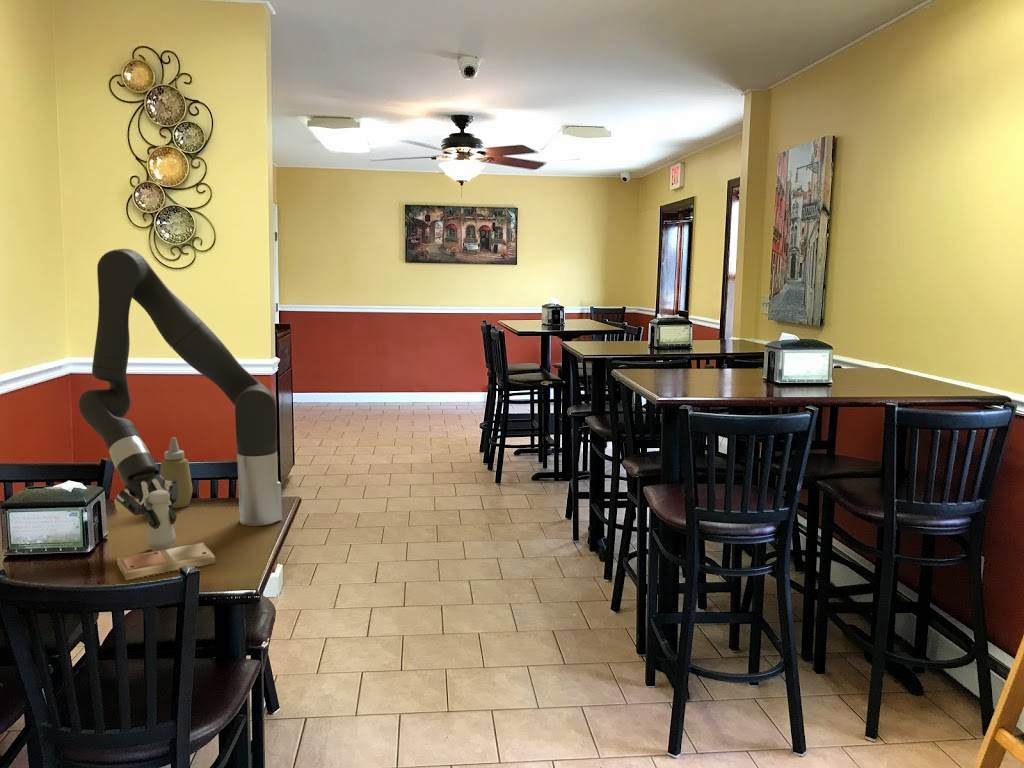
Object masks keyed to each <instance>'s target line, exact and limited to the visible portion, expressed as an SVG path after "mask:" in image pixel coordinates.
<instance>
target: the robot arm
mask: <svg viewBox="0 0 1024 768" xmlns="http://www.w3.org/2000/svg"><path fill="white" fill-rule="evenodd" d="M96 267H97V268H96V270H97V271H96V272H97V273H96V275H97V289H98V290H97V291H98V319H97V329H96V337H95V343H94V344H95V345H94V349H93V350H94V352H93V359H92V366H91V367H92V369H91V374H92V376H93V377H94V378H95V379H96V380H100V381H103V382H108V384H109V387H108V388H102V389H101V388H100V389H89V390H86V391H84V392H83V393H81V395H80V396H79V398H78V410H79V412H80V415H81V416H82V418H83V419H84V421H85V422H86V423H87V424H88V425H89V426H90V427H91V428H92V429H93V430H94V431H95V433H97V434H98V435H99V436H100V437H101V438H102V439H103V442H104V444H105V446H106V448H107V450H108V453H109V455H110V457H111V461H112V463H113V466H114V468H115V470H116V471H117V473H118V475H119V477H120V480H121V482H122V483H123V486H125V488H124V490H123V489H121V490H119V492H118V493H117V496H116V498H115V500H116V501H117V502H118V503H119V504H120V505H122V506H123V507H125V509H127V510H128V511H129V512H130V513H131V514H132V515H134V516H135V517H136V516H139V515H142V516H144V517H145V519H146V521H147V523H148V526H149V525H150V526H151V527H153V529H157V528H158V527H159V526H160V521H159V519H158V517H157V515H156V513H155V512H154V510H152V504H151V503H149V501H148V495H149V494H150V493H151V492H153V491H156V490H163V487H164V486H165V487H166V489H167V491H169V494H170V500H169V501H168V502H167V503H168V507H169V517H170V522H171V525H172V524H173V525H174V524H175V522H176V521H177V514H176V512H175V510H174V508H172V507H173V506H174V505H175V503H176V502H177V500H178V481H177V480H176V479H173V480H172V481H167V480H165V479H164V478H163V477H162V476H161V475H160V471H159V469H158V466H157V464H156V462H155V460H154V458H153V456H152V454H151V452H150V451H149V449H148V447H147V445H146V444H145V442H144V441H143V440H142V438H141V436H140V433H139V432H138V429H137V428H136V426H135V424H134V423H133V422H132V421H131V420H129V419H127V418H124V417H126V415H127V414H128V413H129V411H130V408H131V395H130V390H129V383H128V377H127V370H128V361H129V357H130V356H129V354H130V345H131V344H130V343H131V342H130V327H129V326H130V325H129V321H130V320H129V318H130V310H131V309H130V308H131V302H132V299H133V300H134V301H135V302H136V303H137V304H139V306H141V307H142V309H144V311H145V312H146V313H147V314H148V316H149V318H150V319H151V321H152V322H153V324H154V326H155V328H156V329H157V331H158V332H159V334H160V335H161V337H162V338H163V339H164V341H165V342H166V344H168V345H169V347H170V348H171V349H172V350H173V351H174V352H175V353H176V354H177V355H178V356H179V357H180V358H181V359H182V360H183V361H185V363H187V364H188V365H189V366H191V367H192V368H193V369H194V370H196V371H197V372H198V373H200V374H201V375H203V376H204V377H205V378H207V379H208V380H209V381H211V382H212V383H214V384H215V385H216V386H217V387H218V388H219V389H220V390H221V391H222V392H223V394H224V395H225V396H226V397H227V398H228V399H229V400H230V402H231V403H232V404H233V406H234V420H235V438H236V440H235V441H236V455H237V477H238V479H237V483H238V507H239V512H238V513H239V523H240V524H242V525H243V526H249V527H259V526H266V525H272V524H275V523H276V522H279V521H282V520H283V511H282V510H283V509H282V507H283V505H282V484H281V482H280V481H279V475H278V474H279V470H278V465H279V464H278V435H277V433H278V431H277V429H278V427H277V403H276V399H275V398H276V397H275V395H274V394H273V393H272V391H271V390H270V388H267V386H265V385H264V384H262V383H261V382H260V381H259V380H258V379H256V378H255V377H254V376H253V375H252V374H251V373H250V372H248V370H246V368H244V367H243V366H242V365H241V364H240V362H238V360H237V359H236V357H234V355H233V354H232V352H230V350H229V349H228V348H227V347H226V345H225V344H224V343H223V342H222V340H221V339H220V338H219V337H218V336H217V335H216V334H215V333H214V332H213V331H212V330H211V328H210V327H209V326H208V325H207V324H206V323H205V322H204V321H203V320H202V319H201V318H200V317H199V316H198V315H197V314H196V313H195V312H194V311H193V310H192V309H191V308H189V307H188V305H186V303H184V302H183V301H182V300H181V299H180V298H179V297H178V296H177V295H175V294H174V292H172V290H170V289H169V287H168V286H167V285H166V284H165V283H164V281H163V280H162V279H161V278H160V276H158V274H157V273H156V272H155V270H154V269H153V268H152V267H151V265H150V264H149V263H148V261H147V260H146V259H145V258H144V256H142V255H141V254H140V253H139V252H137V251H136V250H133V249H129V248H117V249H113V250H110V251H107V252H105V253H104V254H103V255H102V256H101V257H100V258H99V260H98V262H97V266H96Z"/></svg>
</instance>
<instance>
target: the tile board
mask: <svg viewBox="0 0 1024 768" xmlns="http://www.w3.org/2000/svg"><path fill="white" fill-rule="evenodd" d="M116 561H117V562H116V563H117V566H119V567H118V569H119V570H120V572H121V571H122V572H121V574H122V573H123V574H122V576H123V575H124V576H125V578H126V579H127V578H132V577H138V576H142V575H147V574H153V573H161V572H168V571H173V570H178V569H179V567H181V566H197V567H196V568H198V567H202V566H208V565H213V564H216V556H215V555H214V554H213V552H212V551H211V550H210V549H209V548H208V547H207V545H205V543H204V542H200V543H194V544H188V545H187V544H186V545H181V546H177V547H172V548H170V549H165V550H159V551H154V552H153V551H149V552H144V553H137V554H132V555H127V556H121V557H117V560H116ZM178 571H179V570H178ZM173 572H174V571H173ZM168 573H169V572H168ZM124 576H123V577H124ZM125 578H124V579H125Z"/></svg>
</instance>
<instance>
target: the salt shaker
mask: <svg viewBox="0 0 1024 768" xmlns="http://www.w3.org/2000/svg"><path fill="white" fill-rule="evenodd" d="M169 500H170V494H169V492H168V491H165V490H156V491H153V492H151V493H150V494H149V495H148V501H149V503H151V506H152V510H154V512H155V513H156V515H157V517H158V519H159V521H160V526H159V527H158V528H157V529H153V527H151V526H150V525H149V524H148V528H147V534H146V539H145V540H146V543H147V544H148V546H149V547H150V549H151V552H153V551H159V550H165V549H170V548H173V546H174V543H175V540H176V536H177V535H176V532H175V528H174V524H172V525H171V522H170V517H169V507H168V503H167V502H168V501H169Z"/></svg>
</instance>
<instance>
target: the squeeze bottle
mask: <svg viewBox="0 0 1024 768" xmlns="http://www.w3.org/2000/svg"><path fill="white" fill-rule="evenodd" d="M163 454H164V457H163V458H164V459H163V460H162V461H161V462H160V469H159V470H160V471H159V474H160V475H161V476H162V477H163V478H164V479H165V480H167V481H172V480H173V479H176V480H177V481H178V500H177V502H176V503H175V505H174V506H173V507H172V508H173V509H178V508H184V507H187V506H189V504H190V500H191V499H192V495H193V492H194V490H193V488H194V487H193V483H192V478H191V477H192V476H191V470H190V464H189V463H190V462H189V460H188V459H187V458H185V451H184V450H183V449H180V447H179V444H178V440H177V437H170V442H169V447H168V450H166V451H165V452H164V453H163ZM163 490H165V491H167V489H166V487H165V486H164V487H163ZM168 492H169V491H168Z"/></svg>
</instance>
